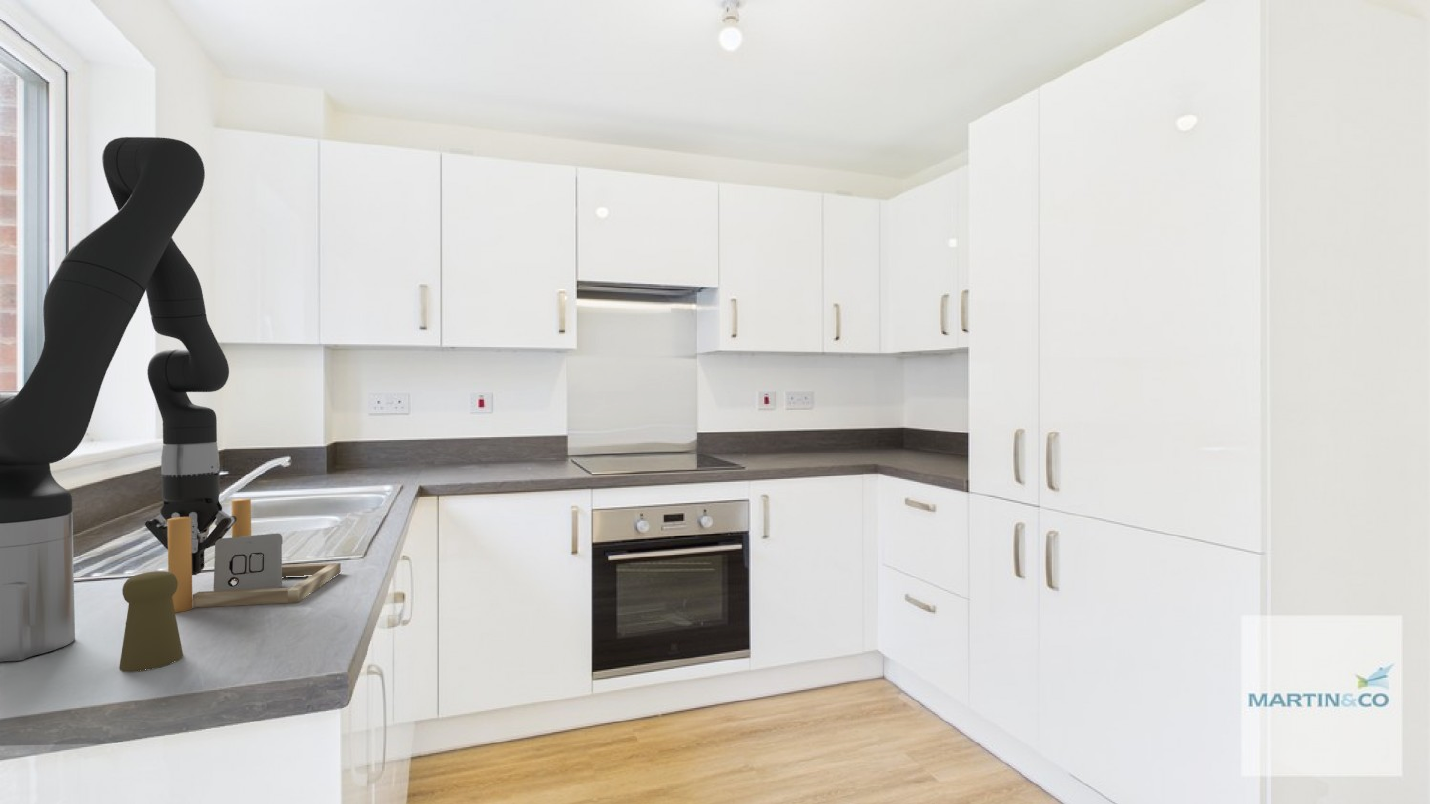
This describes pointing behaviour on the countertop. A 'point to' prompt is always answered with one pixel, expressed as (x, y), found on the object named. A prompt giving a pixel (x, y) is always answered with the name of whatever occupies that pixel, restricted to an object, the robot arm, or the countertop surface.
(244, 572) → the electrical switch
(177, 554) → the post left
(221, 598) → the wooden square frame
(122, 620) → the countertop surface
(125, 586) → the cork
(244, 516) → the post right
